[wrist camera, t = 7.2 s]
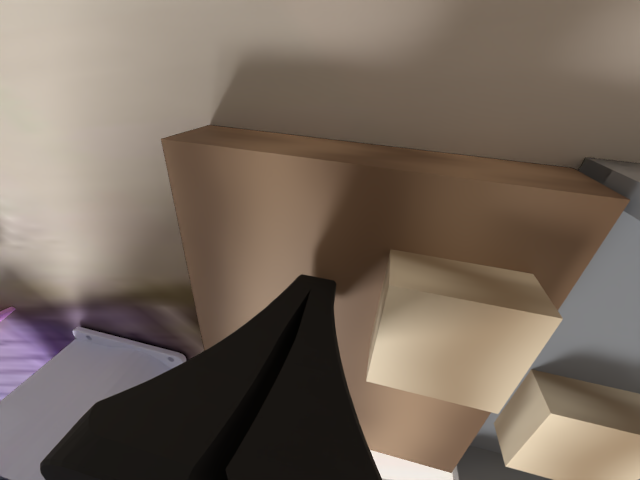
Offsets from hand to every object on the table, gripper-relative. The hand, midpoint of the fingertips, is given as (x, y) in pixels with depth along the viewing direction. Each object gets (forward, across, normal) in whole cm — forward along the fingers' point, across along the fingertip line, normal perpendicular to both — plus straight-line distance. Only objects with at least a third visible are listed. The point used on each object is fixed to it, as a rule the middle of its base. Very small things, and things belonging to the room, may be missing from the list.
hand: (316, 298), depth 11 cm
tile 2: (+1, -5, 0) cm, 5 cm away
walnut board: (+4, -1, +3) cm, 5 cm away
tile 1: (+2, -12, +6) cm, 13 cm away
